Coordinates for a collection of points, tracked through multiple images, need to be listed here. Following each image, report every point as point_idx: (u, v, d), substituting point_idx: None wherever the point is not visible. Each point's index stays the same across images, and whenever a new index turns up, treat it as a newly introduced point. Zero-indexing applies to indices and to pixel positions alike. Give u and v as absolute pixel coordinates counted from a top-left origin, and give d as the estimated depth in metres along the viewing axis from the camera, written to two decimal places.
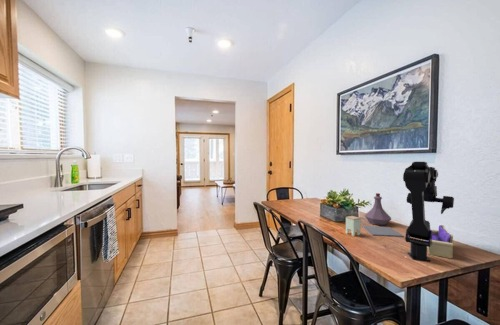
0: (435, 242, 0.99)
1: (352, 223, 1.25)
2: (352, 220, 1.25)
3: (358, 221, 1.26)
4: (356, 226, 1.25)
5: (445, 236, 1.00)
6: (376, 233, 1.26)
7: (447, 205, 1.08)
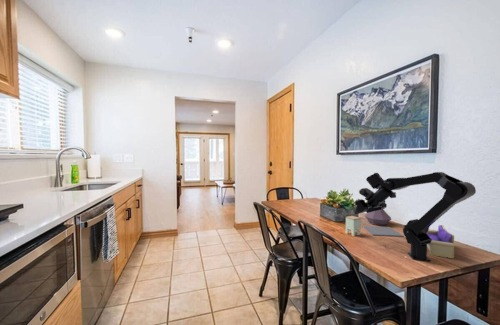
0: (436, 242, 0.98)
1: (352, 223, 1.25)
2: (352, 220, 1.25)
3: (358, 221, 1.26)
4: (356, 226, 1.25)
5: (446, 236, 1.00)
6: (376, 233, 1.26)
7: (384, 207, 1.19)
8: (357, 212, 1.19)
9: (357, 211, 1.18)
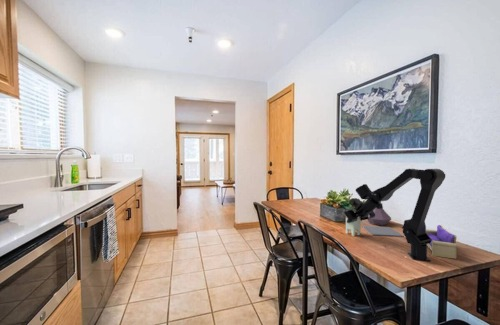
0: (439, 243, 0.98)
1: (352, 223, 1.25)
2: None
3: (358, 221, 1.26)
4: (356, 226, 1.25)
5: (448, 236, 0.99)
6: (376, 233, 1.26)
7: (372, 217, 1.25)
8: (349, 221, 1.25)
9: None
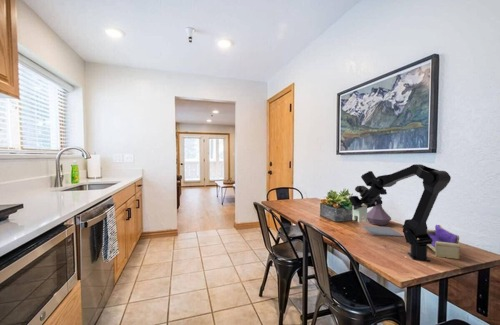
0: (443, 244, 0.97)
1: (358, 210, 1.27)
2: None
3: (364, 208, 1.28)
4: (362, 213, 1.27)
5: (450, 237, 0.99)
6: (376, 233, 1.26)
7: (379, 204, 1.25)
8: (355, 207, 1.28)
9: (355, 206, 1.28)
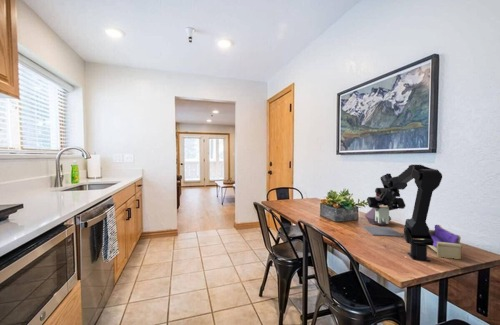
0: (444, 244, 0.97)
1: (378, 211, 1.30)
2: None
3: (385, 210, 1.29)
4: (383, 215, 1.29)
5: (451, 237, 0.99)
6: (376, 233, 1.26)
7: (401, 207, 1.24)
8: (375, 209, 1.32)
9: (375, 208, 1.32)
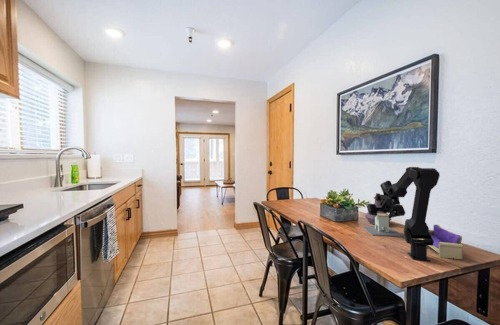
0: (446, 244, 0.96)
1: (378, 219, 1.31)
2: (378, 216, 1.31)
3: (385, 219, 1.29)
4: (383, 223, 1.30)
5: (452, 237, 0.99)
6: (376, 233, 1.26)
7: (401, 214, 1.24)
8: (373, 215, 1.32)
9: (373, 214, 1.32)
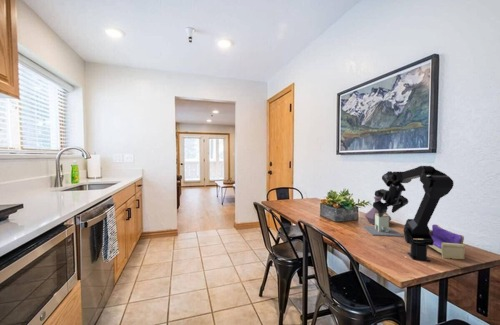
0: (449, 245, 0.96)
1: (378, 219, 1.31)
2: (378, 216, 1.31)
3: (385, 219, 1.29)
4: (383, 223, 1.30)
5: (454, 237, 0.99)
6: (376, 233, 1.26)
7: (406, 202, 1.19)
8: (380, 214, 1.21)
9: (380, 213, 1.21)
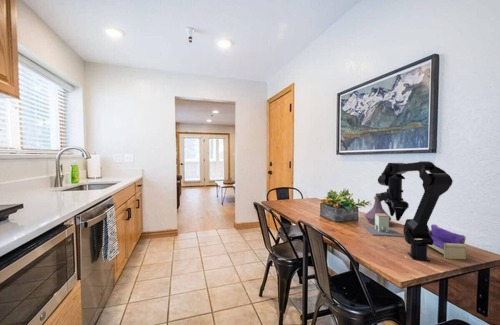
0: (452, 245, 0.95)
1: (378, 219, 1.31)
2: (378, 216, 1.31)
3: (385, 219, 1.29)
4: (383, 223, 1.30)
5: (455, 237, 0.98)
6: (376, 233, 1.26)
7: None
8: (400, 216, 1.07)
9: (399, 215, 1.07)
